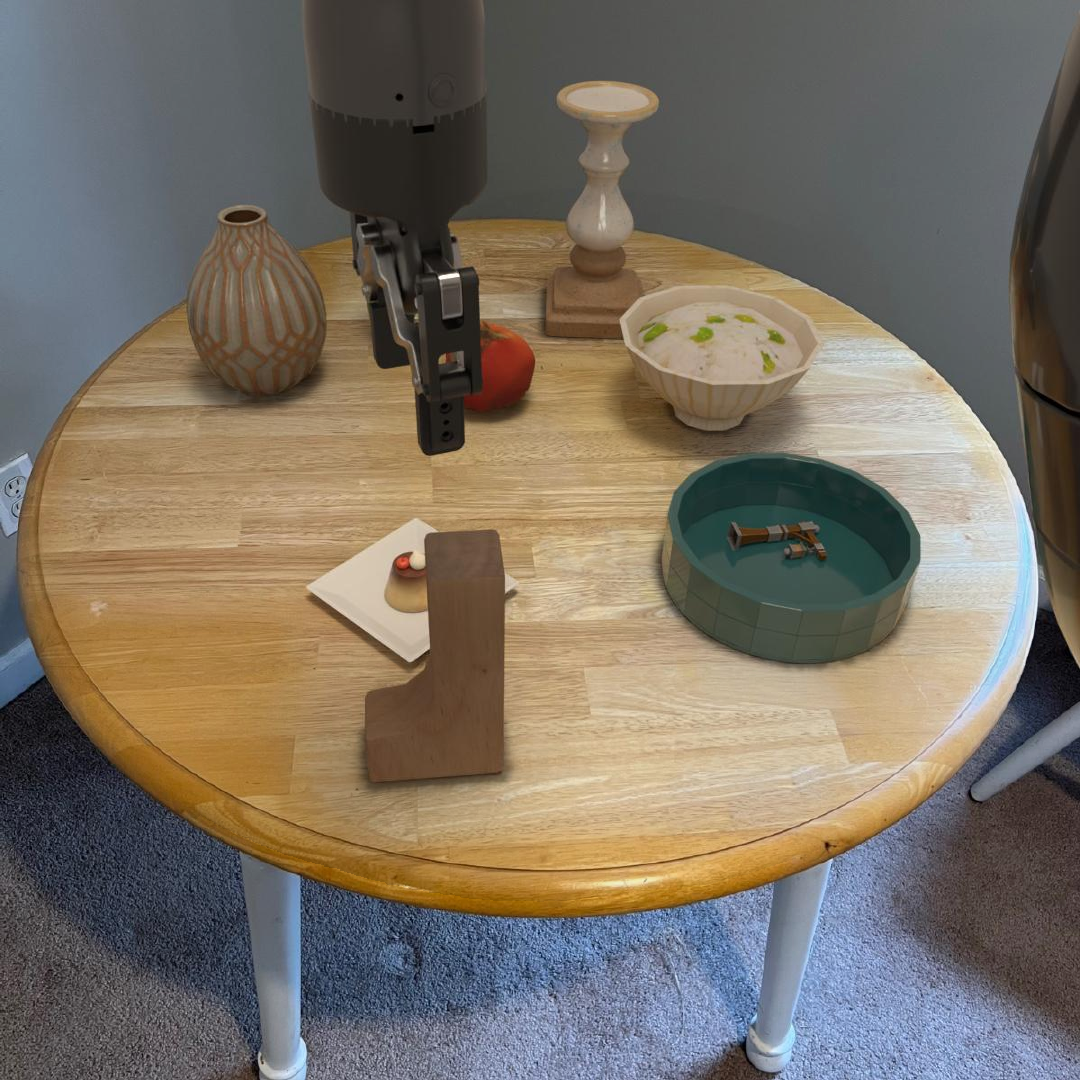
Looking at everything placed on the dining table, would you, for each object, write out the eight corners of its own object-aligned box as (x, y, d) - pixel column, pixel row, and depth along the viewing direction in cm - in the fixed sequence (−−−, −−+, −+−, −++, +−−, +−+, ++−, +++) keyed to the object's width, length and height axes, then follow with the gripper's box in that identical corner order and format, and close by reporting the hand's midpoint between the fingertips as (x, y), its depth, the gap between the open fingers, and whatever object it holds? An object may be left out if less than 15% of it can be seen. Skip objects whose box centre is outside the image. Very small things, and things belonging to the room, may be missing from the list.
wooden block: (369, 785, 73) (345, 585, 61) (369, 732, 76) (347, 534, 65) (503, 774, 74) (505, 576, 62) (498, 723, 77) (498, 526, 66)
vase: (239, 429, 104) (208, 258, 93) (178, 371, 112) (143, 207, 100) (357, 385, 111) (341, 220, 99) (292, 333, 118) (271, 175, 107)
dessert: (306, 597, 87) (299, 551, 83) (416, 527, 94) (413, 482, 90) (410, 673, 81) (407, 626, 78) (520, 592, 88) (521, 546, 85)
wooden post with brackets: (839, 548, 90) (818, 514, 94) (748, 555, 89) (730, 519, 92) (833, 565, 91) (812, 530, 95) (743, 571, 90) (725, 536, 93)
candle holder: (645, 339, 119) (666, 117, 104) (544, 336, 119) (551, 113, 104) (640, 292, 127) (660, 80, 112) (546, 289, 128) (553, 76, 112)
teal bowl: (954, 627, 86) (974, 575, 82) (734, 690, 80) (745, 637, 77) (819, 484, 100) (830, 434, 96) (623, 530, 94) (628, 478, 90)
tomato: (505, 366, 114) (505, 297, 109) (552, 408, 108) (555, 337, 103) (426, 390, 110) (422, 319, 105) (471, 435, 104) (470, 362, 99)
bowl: (584, 375, 113) (589, 287, 107) (752, 349, 118) (766, 263, 112) (657, 483, 99) (668, 389, 93) (844, 449, 104) (866, 357, 98)
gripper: (277, 42, 50) (316, 351, 61) (350, 150, 40) (382, 499, 51) (434, 28, 52) (445, 329, 63) (541, 128, 42) (533, 467, 53)
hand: (417, 404), depth 57 cm, fingers open, 8 cm apart
